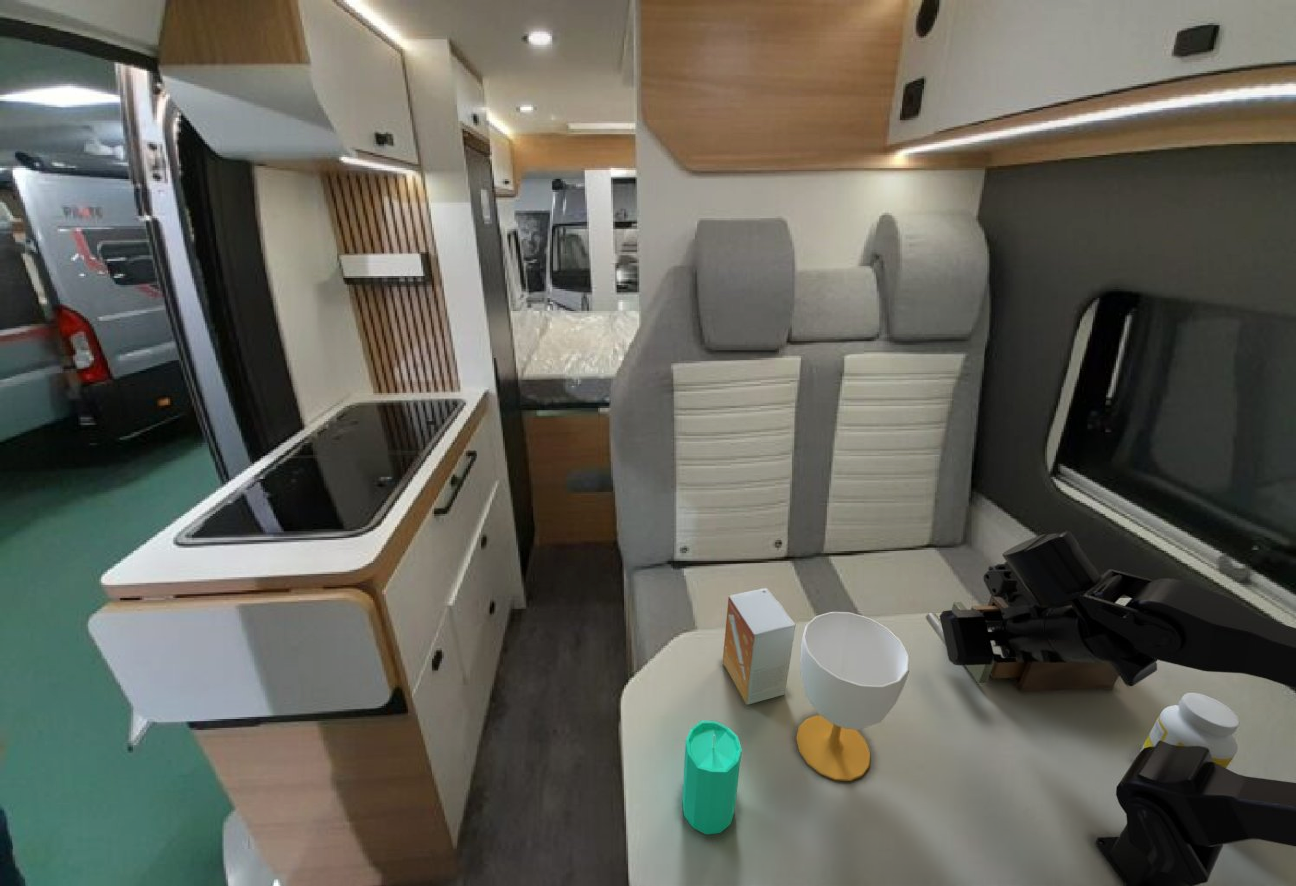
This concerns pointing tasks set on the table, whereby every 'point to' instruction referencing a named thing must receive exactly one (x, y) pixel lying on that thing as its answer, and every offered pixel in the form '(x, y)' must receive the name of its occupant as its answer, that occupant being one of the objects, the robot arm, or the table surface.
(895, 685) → the cup
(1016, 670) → the drawer
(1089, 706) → the table surface
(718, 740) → the candle
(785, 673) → the small box
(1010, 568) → the robot arm
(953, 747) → the table surface
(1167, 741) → the pill bottle
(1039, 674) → the cabinet
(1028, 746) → the table surface
